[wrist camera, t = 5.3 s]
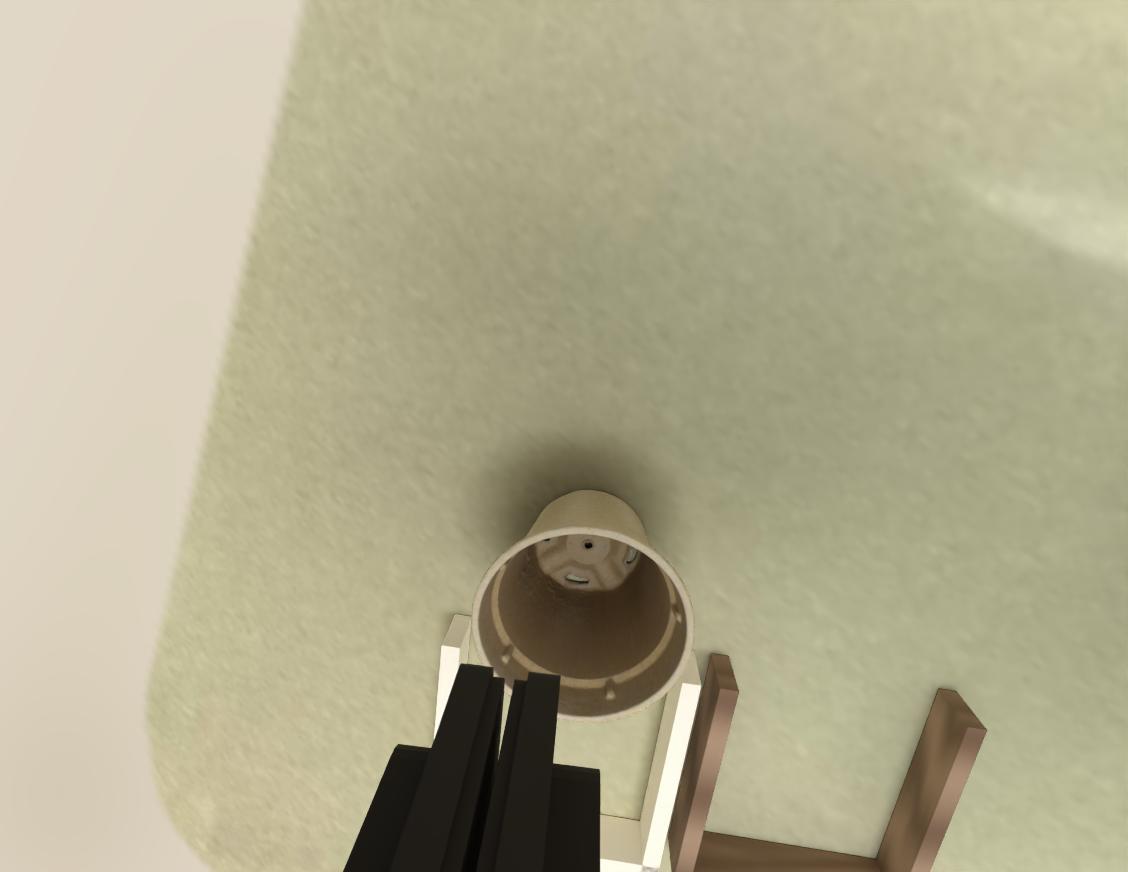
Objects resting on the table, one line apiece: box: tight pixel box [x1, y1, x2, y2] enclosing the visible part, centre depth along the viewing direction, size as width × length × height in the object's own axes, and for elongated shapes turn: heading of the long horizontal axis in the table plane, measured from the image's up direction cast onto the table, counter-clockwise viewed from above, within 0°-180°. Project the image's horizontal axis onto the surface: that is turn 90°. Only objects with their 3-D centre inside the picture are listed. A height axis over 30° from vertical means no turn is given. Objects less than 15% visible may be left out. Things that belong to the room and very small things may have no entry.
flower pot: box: [471, 490, 695, 723], centre depth 30 cm, size 9×9×9 cm
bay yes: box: [434, 614, 701, 872], centre depth 37 cm, size 14×14×3 cm
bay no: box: [668, 654, 987, 872], centre depth 36 cm, size 14×14×3 cm
